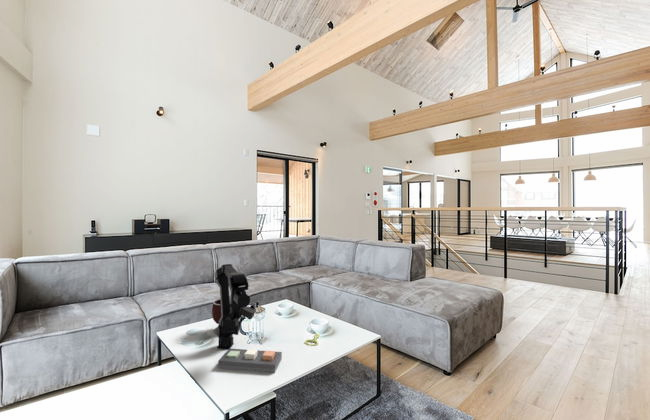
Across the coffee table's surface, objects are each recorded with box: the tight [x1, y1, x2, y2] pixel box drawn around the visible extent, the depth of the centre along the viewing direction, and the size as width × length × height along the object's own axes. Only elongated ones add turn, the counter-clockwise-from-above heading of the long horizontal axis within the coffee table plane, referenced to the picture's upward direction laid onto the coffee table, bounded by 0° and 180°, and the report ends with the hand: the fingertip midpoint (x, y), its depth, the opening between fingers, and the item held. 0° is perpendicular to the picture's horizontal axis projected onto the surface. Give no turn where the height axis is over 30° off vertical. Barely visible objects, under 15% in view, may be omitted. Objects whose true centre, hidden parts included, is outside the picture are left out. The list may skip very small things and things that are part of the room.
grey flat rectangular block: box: [217, 347, 283, 374], centre depth 143 cm, size 26×12×4 cm, turn 84°
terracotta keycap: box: [263, 350, 276, 361], centre depth 142 cm, size 5×5×2 cm
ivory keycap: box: [244, 348, 259, 359], centre depth 143 cm, size 5×5×2 cm
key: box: [304, 333, 320, 347], centre depth 169 cm, size 7×12×2 cm, turn 176°
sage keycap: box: [227, 351, 240, 358], centre depth 144 cm, size 5×5×2 cm
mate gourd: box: [211, 294, 231, 335], centre depth 181 cm, size 16×14×20 cm
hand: (236, 334), depth 143 cm, fingers closed
